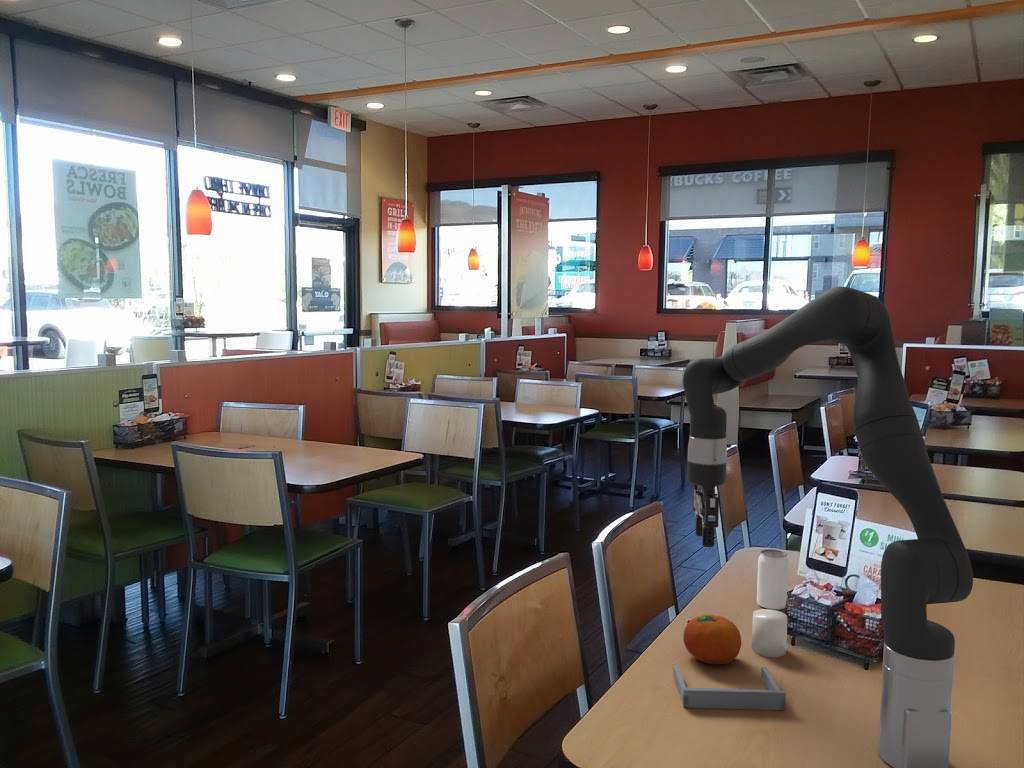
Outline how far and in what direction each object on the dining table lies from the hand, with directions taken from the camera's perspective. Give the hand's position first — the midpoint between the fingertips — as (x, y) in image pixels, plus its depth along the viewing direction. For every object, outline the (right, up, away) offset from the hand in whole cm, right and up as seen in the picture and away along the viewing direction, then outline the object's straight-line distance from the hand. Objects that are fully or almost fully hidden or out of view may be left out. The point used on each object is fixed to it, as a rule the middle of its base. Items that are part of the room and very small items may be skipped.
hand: (704, 540), depth 164 cm
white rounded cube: (+12, -20, -4) cm, 24 cm away
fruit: (-1, -21, -8) cm, 23 cm away
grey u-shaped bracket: (-1, -22, -21) cm, 31 cm away
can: (+20, -18, +20) cm, 33 cm away
